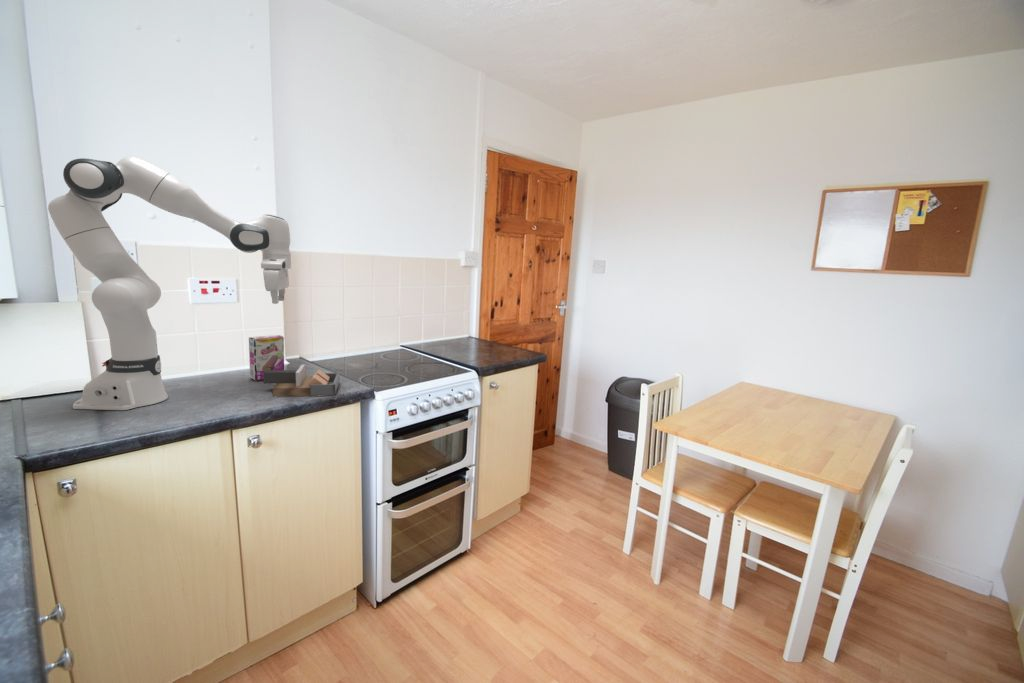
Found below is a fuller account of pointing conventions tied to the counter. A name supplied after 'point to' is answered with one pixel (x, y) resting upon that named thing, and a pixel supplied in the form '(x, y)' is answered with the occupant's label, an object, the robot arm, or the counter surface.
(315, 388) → the tray
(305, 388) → the board
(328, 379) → the tile
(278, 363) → the candy bar box
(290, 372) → the scraper
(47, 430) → the counter surface
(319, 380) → the tile
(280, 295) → the robot arm
